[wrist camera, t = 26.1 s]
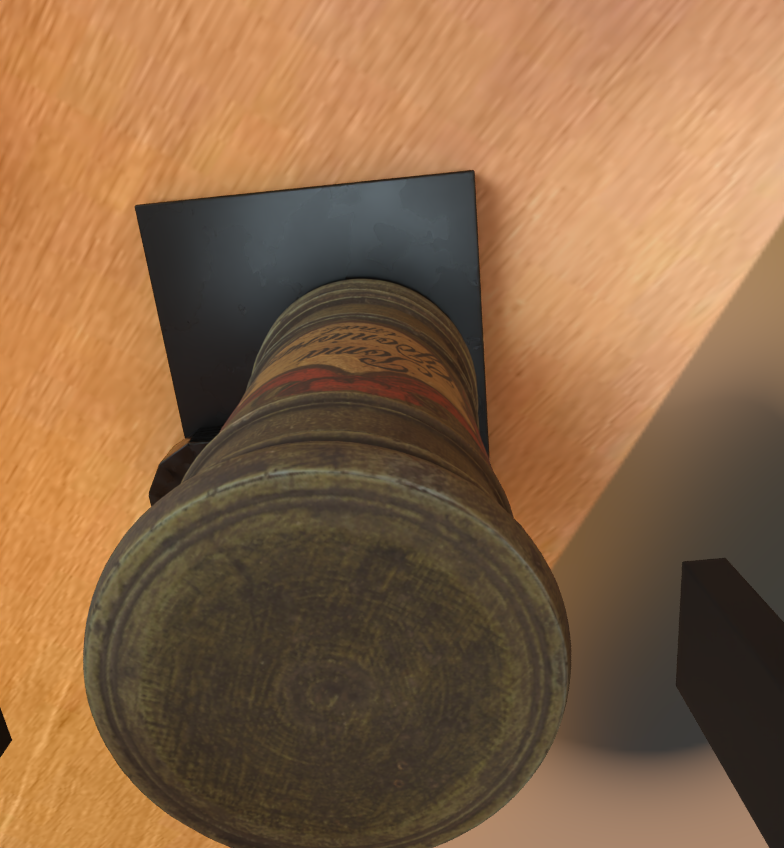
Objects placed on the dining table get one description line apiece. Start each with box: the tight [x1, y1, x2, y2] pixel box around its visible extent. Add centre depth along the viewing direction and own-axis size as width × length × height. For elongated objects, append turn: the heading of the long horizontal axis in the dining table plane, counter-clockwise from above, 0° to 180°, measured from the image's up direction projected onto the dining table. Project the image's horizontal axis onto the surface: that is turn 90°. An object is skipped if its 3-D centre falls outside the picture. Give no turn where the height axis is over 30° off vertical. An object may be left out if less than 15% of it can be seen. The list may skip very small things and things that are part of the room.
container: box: [83, 279, 571, 848], centre depth 20 cm, size 9×9×18 cm
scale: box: [135, 170, 490, 507], centre depth 28 cm, size 15×14×3 cm
